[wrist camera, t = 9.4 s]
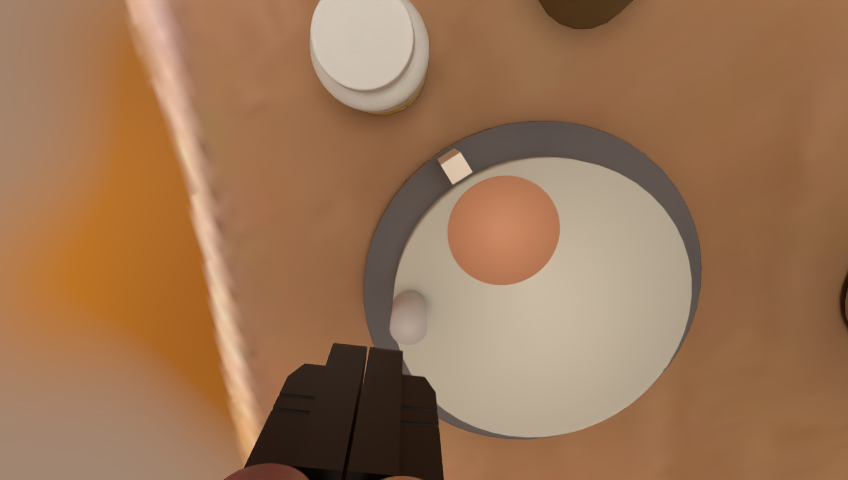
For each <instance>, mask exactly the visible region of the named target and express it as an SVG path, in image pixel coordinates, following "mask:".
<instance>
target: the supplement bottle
mask: <svg viewBox="0 0 848 480" xmlns="http://www.w3.org/2000/svg"><path fill="white" fill-rule="evenodd" d="M429 53H430V46H429V38H428V33H427V30H426V26H425V24H424V21H423V19H422V17H421V15H420V14H419V12H418V11H417V9H416V8H415V6H414V5H413V4H412V3H411V2H410V1H409V0H320V1H319V3H318V5H317V7H316V9H315V11H314V14H313V17H312V22H311V30H310V54H311V60H312V63H313V67H314V69H315V72H316V74H317V76H318V78H319V80H320V81H321V83H322V84H323V86H324V87H325V88H326V89H327V90H328V92H329V93H330V94H331V95H332V96H334V97H335V98H336V99H337V100H339V101H340V102H342V103H343V104H345V105H347V106H349V107H352V108H354V109H357V110H361V111H364V112H367V113H370V114H375V115H389V114H393V113H396V112H399V111H401V110H403V109H405V108H406V107H408V106H409V105H410V104H412V103H413V102H414V101H415V99H416V98H417V97H418V95H419V94H420V92H421V90H422V88H423V86H424V83H425V80H426V76H427V69H428V63H429Z"/></svg>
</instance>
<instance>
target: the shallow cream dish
mask: <svg viewBox="0 0 848 480" xmlns="http://www.w3.org/2000/svg"><path fill="white" fill-rule="evenodd" d="M691 297H692V278H691V271H690V264H689V259H688V255H687V252H686V249H685V246H684V242H683V240H682V238H681V236H680V234H679V232H678V230H677V228H676V225H675V224H674V222H673V221H672V219H671V218H670V217H669V215H668V214H667V212H666V211H665V209H664V208H663V207H662V206H661V205H660V204H659V203H658V202H657V201H656V200H655V199H654V197H653V196H652V195H650V194H649V193H648V192H647V191H645V190H644V189H643V188H642V187H640V186H639V185H638V184H637V183H635V182H633V181H632V180H630V179H628V178H627V177H625V176H623V175H621V174H620V173H617V172H615V171H612V170H610V169H607V168H605V167H602V166H600V165H596V164H592V163H588V162H584V161H579V160H575V159H571V158H564V157H555V156H529V157H523V158H517V159H510V160H507V161H503V162H500V163H497V164H493V165H490V166H488V167H486V168H483V169H481V170H479V171H477V172H474V173H472V174H471V175H469V176H467V177H466V178H464V179H462V180H461V181H459V182H457V183H456V184H454V185H453V186H452V187H451V188H449V189H448V190H447V191H446V192H444V193H443V194H442V195H441V196H440V197H439V198H438V199H437V200H436V201H435V202H434V203H433V204H432V205H431V206H430V207H429V208H428V209H427V210H426V212H425V213H424V214H423V216H422V217H421V218H420V220H419V221H418V222H417V224H416V225H415V227H414V229H413V231H412V232H411V234H410V236H409V238H408V240H407V241H406V244H405V247H404V249H403V252H402V254H401V257H400V260H399V265H398V269H397V273H396V278H395V286H394V296H393V306H392V313H391V320H390V333H391V335H392V337H393V338H394V340H396V341H397V343H398V346H399V349H400V350H401V351H403V359H404V361H405V363H406V365H407V367H408V369H409V371H410V373H411V375H413V376H422V377H425V378H426V379H427V381H428V382H429V383H430V385H431V386H432V388H433V389H434V391H435V392H436V400H437V404H438V405H439V406H440V407H441V408H443V409H444V410H445V411H447V412H448V413H450V414H451V415H453V416H455V417H456V418H458V419H459V420H461V421H463V422H466V423H468V424H470V425H472V426H474V427H477V428H480V429H483V430H486V431H489V432H492V433H497V434H502V435H507V436H515V437H548V436H555V435H562V434H566V433H570V432H574V431H578V430H582V429H584V428H587V427H589V426H592V425H595V424H597V423H600V422H602V421H603V420H605V419H607V418H609V417H611V416H613V415H615V414H617V413H618V412H620V411H621V410H623V409H624V408H626V407H627V406H629V405H630V404H631V403H633V402H634V401H635V400H636V399H637V398H639V397H640V396H641V395H642V394H643V393H644V392H645V391H646V390H647V389H648V388H649V387H650V386H651V385H652V384H653V383H654V382H655V381H656V380H657V379H658V377H659V376H660V375H661V373H662V372H663V371H664V369H665V368H666V367H667V365H668V364H669V362H670V360H671V359H672V357H673V355H674V353H675V352H676V350H677V348H678V346H679V343H680V341H681V339H682V336H683V334H684V331H685V328H686V324H687V320H688V317H689V312H690V304H691Z"/></svg>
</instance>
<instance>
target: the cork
mask: <svg viewBox="0 0 848 480" xmlns="http://www.w3.org/2000/svg"><path fill="white" fill-rule="evenodd" d="M539 1H540V3H541V5H542V6H543V8H544V9H545V11H546V12H547V14H548V15H550V16H551V17H552V18H553V19H555V20H556V21H557V22H558V23H560V24H562V25H565V26H568V27H571V28H574V29H588V28H594V27H596V26H599V25H602V24H604V23H607V22H608V21H610V20H611V19H612V18H613V17H615V16H616V15H617V14H619V13H620V12H621V11H622V10H623V9H624V8H625V7H626V6H627V5H629V4H630V3H631V2H632V1H633V0H539Z"/></svg>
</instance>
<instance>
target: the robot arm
mask: <svg viewBox="0 0 848 480" xmlns="http://www.w3.org/2000/svg"><path fill="white" fill-rule="evenodd" d="M845 314H846V317H847V321H848V289H847V294H846V299H845ZM366 355H367V347H365V346H356V345H347V344H339V343H334V344H333V346H332V349H331V352H330V354H329V357H328V360H327V363H326V366H322V365H313V364H303V365H302V366H301V367H300V368H298V369H297V370H296V371H294V372H293V373H292V374H290V375H289V376H288V377H287V379H286V381H285V383H284V386H283V388H282V390H281V392H280V395H279V396H278V398H277V400H276V402H275V404H274V406H273V410H272V411H271V413H270V415H269V417H268V419H267V421H266V423H265V425H264V427H263V429H262V431H261V433H260V435H259V438H258V440H257V442H256V444H255V446H254V448H253V450H252V452H251V454H250V456H249V458H248V460H247V462H246V465H245V467H244V469H241V470H239V471H237V472H235V473H233V474H231V475H230V476H228V477H227V478H226V479H224V480H444V477H443V466H442V455H441V444H440V433H439V428H438V426H439V422H438V413H437V400H436V392H435V391H434V389H433V388H432V386H431V385H430V383H429V382H428V381H427V379H426V378H425V377H422V376H413V375H404V374H402V368H403V351H401V350H392V349H383V348H375V347H370V350H369V356H368V361H367V367H366V372H365V364H366ZM364 372H365V378H364ZM363 380H364V383H363ZM362 388H363V389H362Z"/></svg>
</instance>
